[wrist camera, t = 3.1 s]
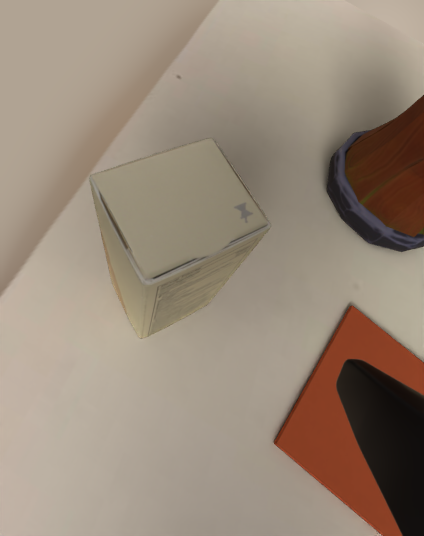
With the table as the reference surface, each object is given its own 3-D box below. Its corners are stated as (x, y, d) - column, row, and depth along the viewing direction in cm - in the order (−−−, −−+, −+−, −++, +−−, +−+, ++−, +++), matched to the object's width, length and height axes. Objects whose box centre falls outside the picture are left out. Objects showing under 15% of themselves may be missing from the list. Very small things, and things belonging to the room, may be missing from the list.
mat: (409, 558, 19) (414, 561, 18) (273, 443, 19) (275, 443, 19) (459, 395, 23) (464, 395, 23) (349, 306, 24) (352, 305, 23)
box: (179, 251, 22) (221, 131, 12) (210, 305, 21) (282, 224, 11) (106, 282, 20) (83, 170, 10) (136, 343, 19) (144, 286, 9)
